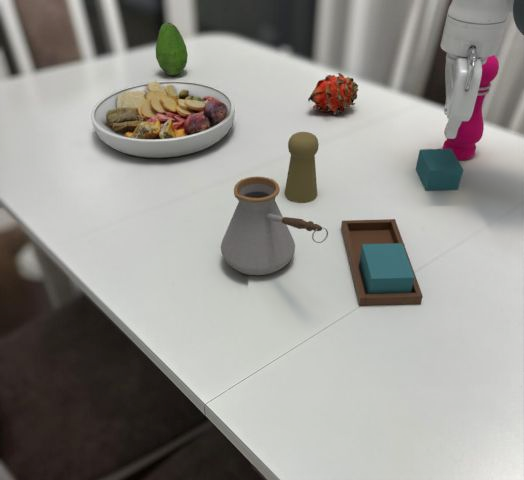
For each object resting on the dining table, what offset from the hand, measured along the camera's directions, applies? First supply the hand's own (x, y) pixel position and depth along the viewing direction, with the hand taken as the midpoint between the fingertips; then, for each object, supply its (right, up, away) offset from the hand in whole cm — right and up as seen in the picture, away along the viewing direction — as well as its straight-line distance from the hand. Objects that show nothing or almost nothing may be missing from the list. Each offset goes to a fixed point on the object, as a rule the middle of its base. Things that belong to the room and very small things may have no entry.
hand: (449, 124), depth 93 cm
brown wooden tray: (-15, -27, -10) cm, 32 cm away
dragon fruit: (-17, +15, +28) cm, 36 cm away
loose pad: (0, -7, +7) cm, 10 cm away
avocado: (-56, +32, +45) cm, 78 cm away
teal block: (-15, -29, -14) cm, 36 cm away
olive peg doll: (-26, -11, +4) cm, 28 cm away
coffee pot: (-31, -29, -12) cm, 44 cm away
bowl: (-54, +8, +22) cm, 59 cm away
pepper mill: (+7, 0, +15) cm, 16 cm away
